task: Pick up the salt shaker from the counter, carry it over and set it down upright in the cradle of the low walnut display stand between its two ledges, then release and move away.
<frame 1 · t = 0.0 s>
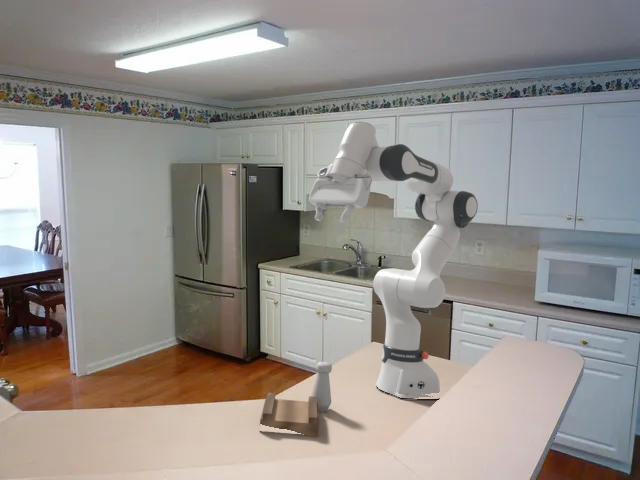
hand: (329, 220, 126), 52 cm above the counter, tool tilted 20°, fingers open, 8 cm apart
display stand: (289, 422, 118), on the counter
salt shaker: (319, 410, 128), on the counter
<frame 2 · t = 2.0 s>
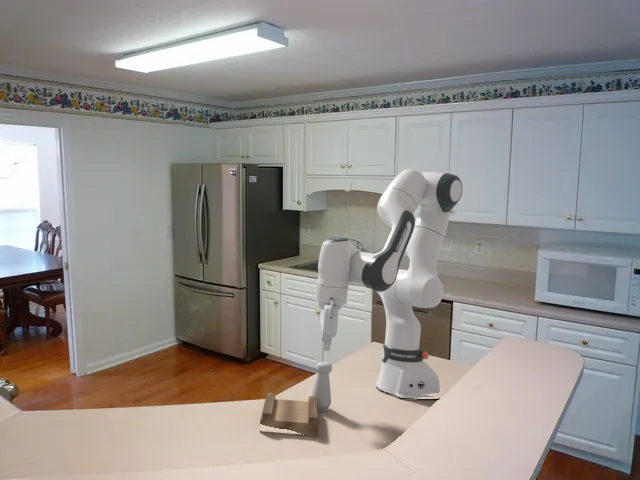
hand: (325, 345, 128), 18 cm above the counter, tool pointing down, fingers open, 8 cm apart
nothing on the counter moved.
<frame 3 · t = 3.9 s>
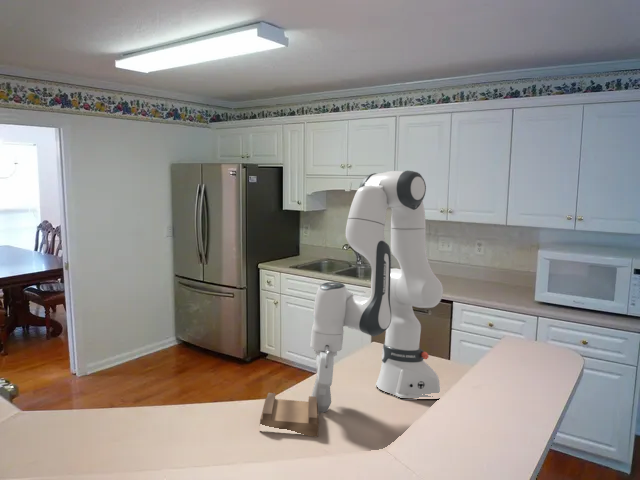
hand: (321, 391, 128), 5 cm above the counter, tool pointing down, fingers closed on salt shaker, 3 cm apart
salt shaker: (319, 410, 128), on the counter, touching gripper
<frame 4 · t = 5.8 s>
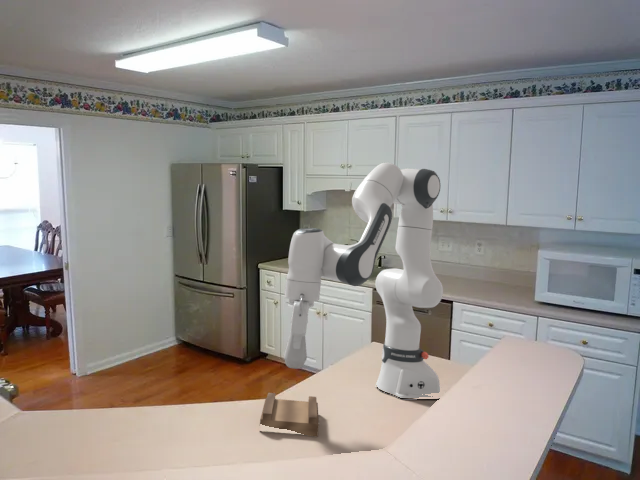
hand: (296, 345, 118), 19 cm above the counter, tool pointing down, fingers closed on salt shaker, 3 cm apart
salt shaker: (294, 367, 118), point 14 cm above the counter, touching gripper
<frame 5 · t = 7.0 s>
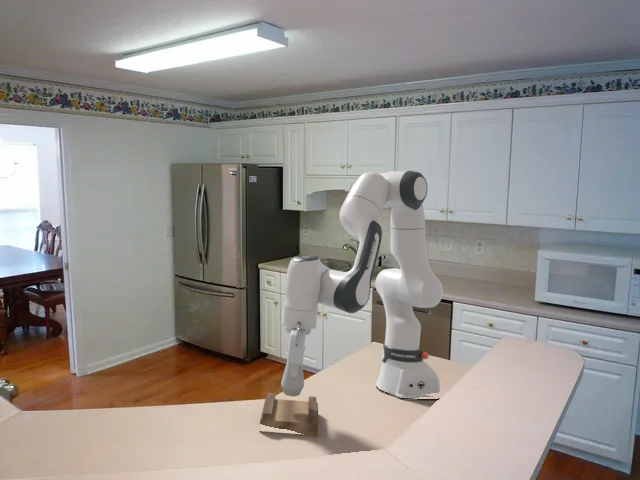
hand: (294, 373, 118), 13 cm above the counter, tool pointing down, fingers closed on salt shaker, 3 cm apart
salt shaker: (291, 394, 118), point 7 cm above the counter, touching gripper
when the fingers open (9 cm above the counter, at t = 7.9 s): salt shaker drops 1 cm, resting on display stand.
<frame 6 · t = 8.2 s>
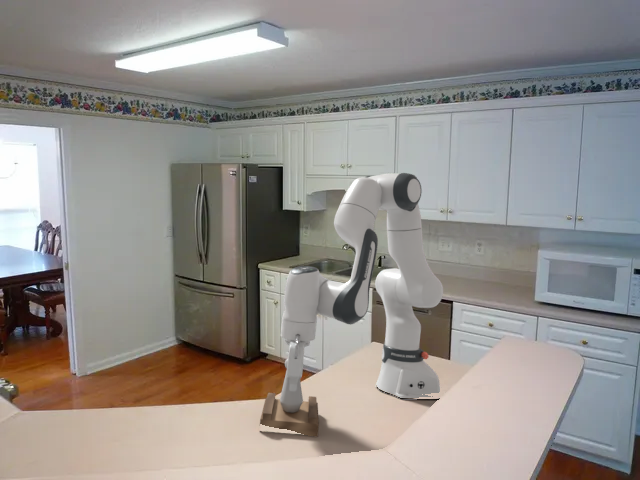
hand: (293, 384, 118), 10 cm above the counter, tool pointing down, fingers open, 7 cm apart
salt shaker: (290, 410, 118), point 3 cm above the counter, touching display stand
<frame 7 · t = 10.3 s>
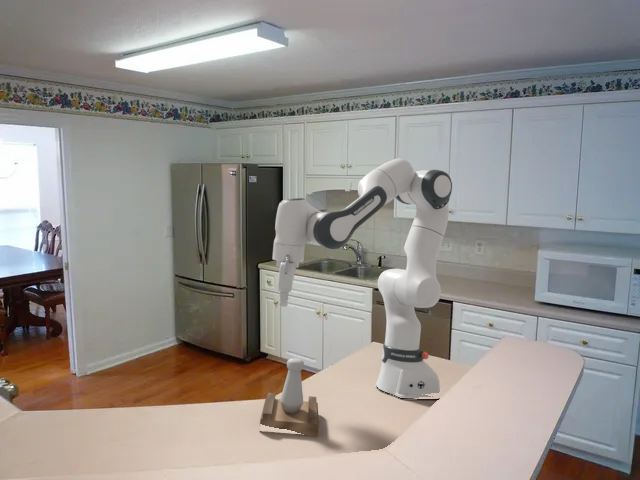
hand: (284, 303, 132), 28 cm above the counter, tool pointing down, fingers open, 8 cm apart
nothing on the counter moved.
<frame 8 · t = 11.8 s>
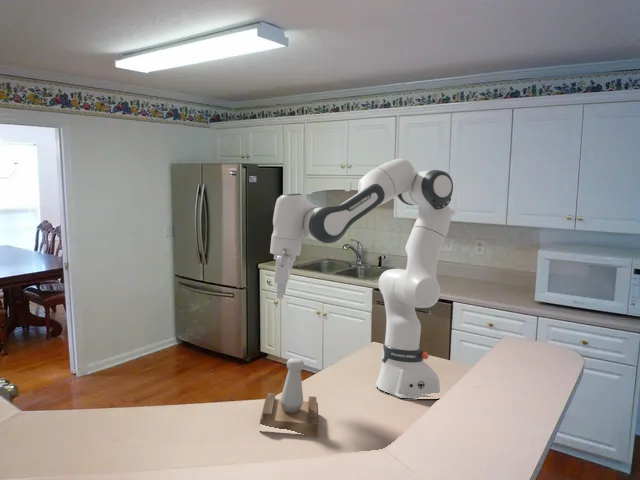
hand: (281, 295, 135), 29 cm above the counter, tool pointing down, fingers open, 8 cm apart
nothing on the counter moved.
at the end: salt shaker inside the target area on the display stand (0.1 cm from its centre), point 2.8 cm above the display stand's base; salt shaker tilted 0°; the gripper is holding nothing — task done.
